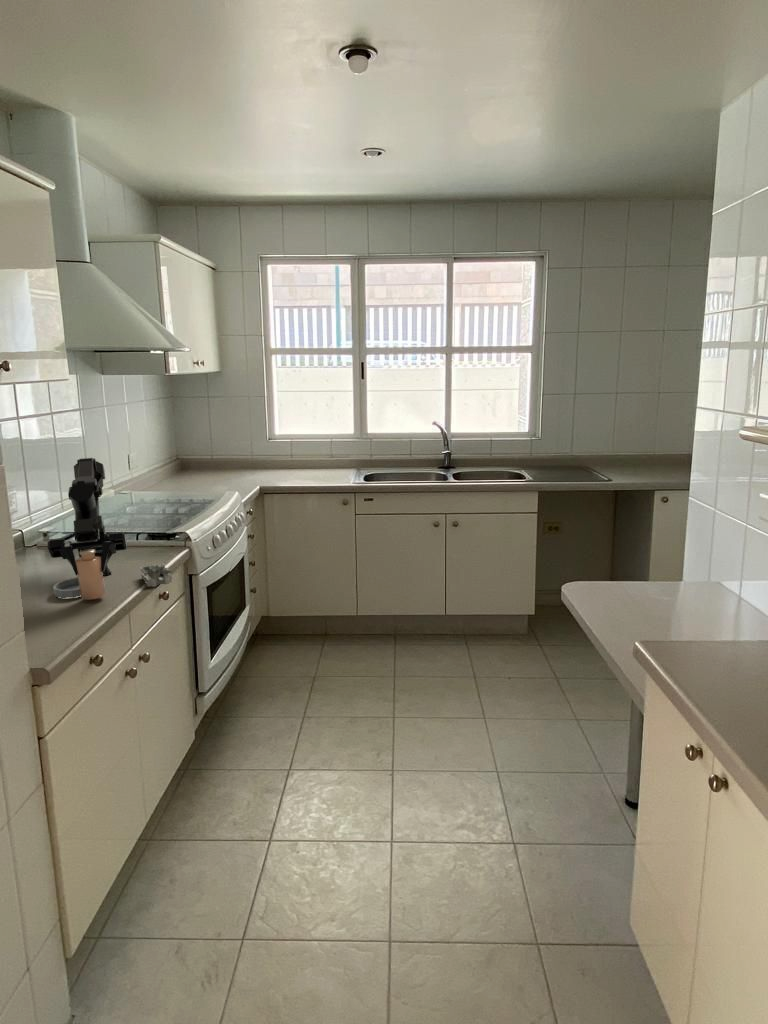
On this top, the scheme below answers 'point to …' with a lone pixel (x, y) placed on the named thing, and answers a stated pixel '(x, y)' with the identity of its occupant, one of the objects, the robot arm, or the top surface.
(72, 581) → the slate bowl
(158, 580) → the egg carton
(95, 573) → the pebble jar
